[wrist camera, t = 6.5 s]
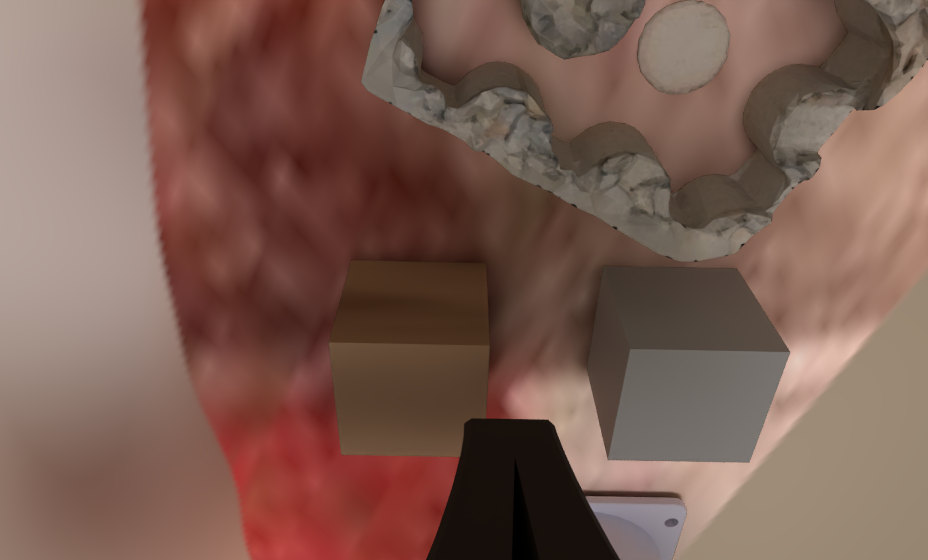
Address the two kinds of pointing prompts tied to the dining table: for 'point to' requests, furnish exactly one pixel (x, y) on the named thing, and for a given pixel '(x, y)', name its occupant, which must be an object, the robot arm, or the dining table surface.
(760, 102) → the grey piece
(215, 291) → the dining table surface
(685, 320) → the slate-grey block
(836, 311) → the dining table surface
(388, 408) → the walnut block
